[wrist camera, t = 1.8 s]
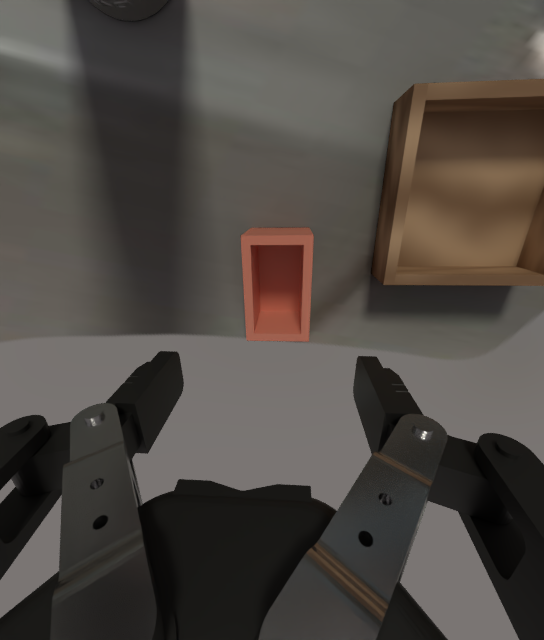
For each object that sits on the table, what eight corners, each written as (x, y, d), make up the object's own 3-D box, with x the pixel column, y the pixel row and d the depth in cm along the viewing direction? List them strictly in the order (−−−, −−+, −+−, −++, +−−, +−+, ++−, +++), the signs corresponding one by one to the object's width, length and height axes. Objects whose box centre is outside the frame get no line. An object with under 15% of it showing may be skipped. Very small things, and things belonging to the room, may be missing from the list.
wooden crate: (393, 102, 22) (414, 83, 18) (578, 96, 21) (638, 75, 17) (371, 273, 28) (383, 284, 24) (516, 273, 27) (552, 285, 23)
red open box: (251, 227, 26) (240, 235, 21) (308, 227, 26) (313, 235, 21) (254, 314, 30) (246, 340, 25) (305, 315, 30) (308, 341, 24)
